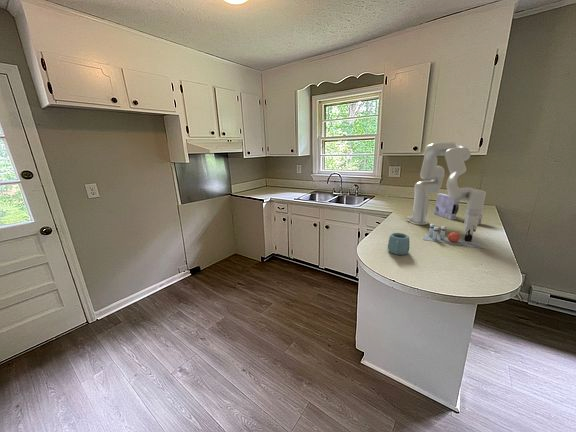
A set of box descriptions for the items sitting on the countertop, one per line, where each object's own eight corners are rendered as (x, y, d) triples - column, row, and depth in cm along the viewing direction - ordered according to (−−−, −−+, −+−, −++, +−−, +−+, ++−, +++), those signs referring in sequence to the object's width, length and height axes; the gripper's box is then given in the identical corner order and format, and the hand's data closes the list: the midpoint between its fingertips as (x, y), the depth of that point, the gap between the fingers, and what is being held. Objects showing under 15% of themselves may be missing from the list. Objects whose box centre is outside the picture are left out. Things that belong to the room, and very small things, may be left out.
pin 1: (428, 237, 154) (430, 224, 152) (428, 236, 157) (430, 223, 154) (432, 237, 153) (434, 225, 151) (432, 236, 155) (434, 224, 153)
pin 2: (432, 240, 149) (434, 227, 147) (432, 239, 151) (433, 226, 149) (436, 241, 148) (438, 228, 145) (436, 240, 150) (438, 227, 147)
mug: (406, 261, 124) (408, 243, 121) (383, 256, 130) (385, 239, 127) (409, 250, 136) (412, 233, 134) (389, 246, 142) (390, 230, 139)
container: (475, 225, 174) (479, 208, 170) (463, 222, 181) (467, 205, 177) (481, 223, 177) (484, 206, 174) (469, 221, 184) (472, 204, 180)
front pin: (439, 240, 150) (441, 227, 147) (439, 238, 152) (441, 226, 149) (444, 240, 148) (446, 227, 146) (443, 239, 150) (446, 226, 148)
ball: (461, 233, 141) (460, 243, 142) (458, 231, 147) (458, 240, 148) (449, 233, 144) (448, 243, 145) (447, 230, 149) (446, 240, 150)
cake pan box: (457, 219, 188) (461, 197, 183) (451, 220, 187) (455, 198, 182) (438, 213, 206) (441, 193, 201) (433, 213, 205) (436, 193, 200)
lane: (423, 239, 151) (423, 239, 151) (423, 234, 159) (423, 234, 159) (483, 248, 136) (483, 248, 136) (480, 242, 145) (480, 242, 144)
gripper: (464, 207, 146) (458, 236, 151) (467, 214, 134) (461, 244, 139) (479, 209, 143) (473, 238, 148) (484, 215, 130) (477, 246, 135)
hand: (467, 241), depth 143 cm, fingers closed
